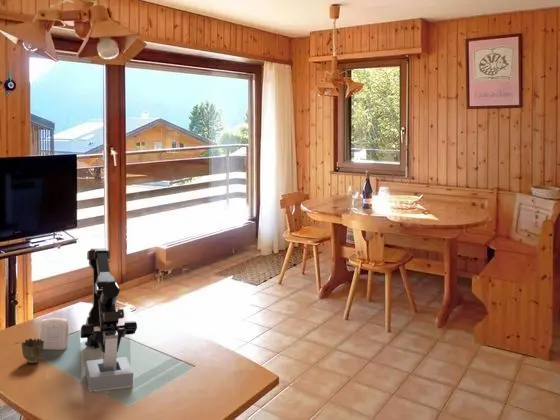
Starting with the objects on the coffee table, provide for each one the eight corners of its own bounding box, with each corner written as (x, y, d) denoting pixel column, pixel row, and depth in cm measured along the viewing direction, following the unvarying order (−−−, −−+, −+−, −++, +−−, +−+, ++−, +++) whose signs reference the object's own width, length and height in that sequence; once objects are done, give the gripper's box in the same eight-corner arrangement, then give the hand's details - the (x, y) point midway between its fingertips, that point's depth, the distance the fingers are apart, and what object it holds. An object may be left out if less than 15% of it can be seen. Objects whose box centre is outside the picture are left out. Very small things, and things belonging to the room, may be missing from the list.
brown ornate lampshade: (34, 368, 190) (35, 347, 189) (16, 365, 191) (17, 343, 190) (47, 360, 197) (48, 339, 196) (30, 357, 198) (30, 336, 197)
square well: (85, 374, 189) (85, 360, 188) (125, 369, 195) (126, 356, 194) (89, 391, 176) (90, 377, 176) (132, 386, 182) (133, 373, 182)
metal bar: (102, 366, 186) (103, 331, 184) (114, 365, 188) (116, 330, 186) (103, 371, 182) (105, 335, 181) (116, 370, 184) (117, 334, 182)
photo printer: (68, 346, 211) (69, 316, 210) (66, 350, 207) (67, 320, 206) (40, 346, 209) (41, 316, 207) (38, 350, 205) (39, 319, 203)
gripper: (82, 302, 181) (84, 345, 173) (137, 299, 190) (142, 340, 181) (79, 316, 189) (81, 358, 181) (132, 313, 198) (136, 353, 189)
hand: (110, 352), depth 183 cm, fingers closed on metal bar, 4 cm apart
